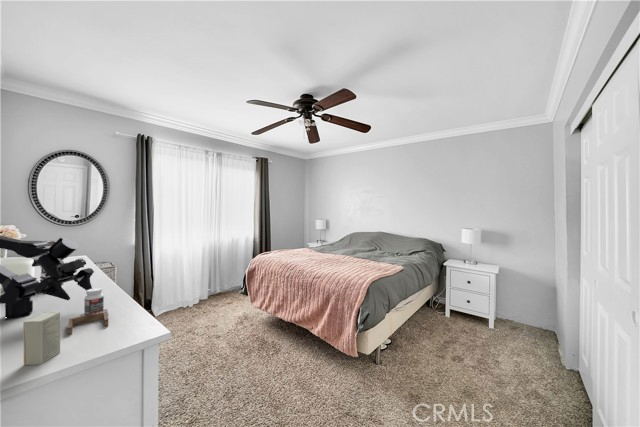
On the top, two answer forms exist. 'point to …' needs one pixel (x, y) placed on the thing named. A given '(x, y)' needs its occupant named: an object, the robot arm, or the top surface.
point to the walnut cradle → (87, 320)
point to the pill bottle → (93, 301)
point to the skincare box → (41, 338)
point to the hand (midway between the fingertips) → (80, 295)
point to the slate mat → (103, 311)
